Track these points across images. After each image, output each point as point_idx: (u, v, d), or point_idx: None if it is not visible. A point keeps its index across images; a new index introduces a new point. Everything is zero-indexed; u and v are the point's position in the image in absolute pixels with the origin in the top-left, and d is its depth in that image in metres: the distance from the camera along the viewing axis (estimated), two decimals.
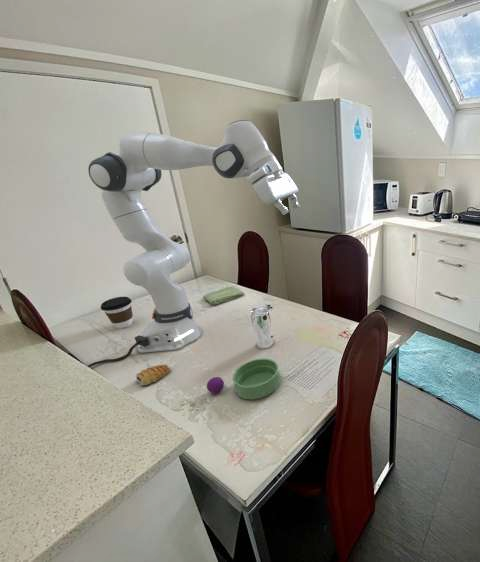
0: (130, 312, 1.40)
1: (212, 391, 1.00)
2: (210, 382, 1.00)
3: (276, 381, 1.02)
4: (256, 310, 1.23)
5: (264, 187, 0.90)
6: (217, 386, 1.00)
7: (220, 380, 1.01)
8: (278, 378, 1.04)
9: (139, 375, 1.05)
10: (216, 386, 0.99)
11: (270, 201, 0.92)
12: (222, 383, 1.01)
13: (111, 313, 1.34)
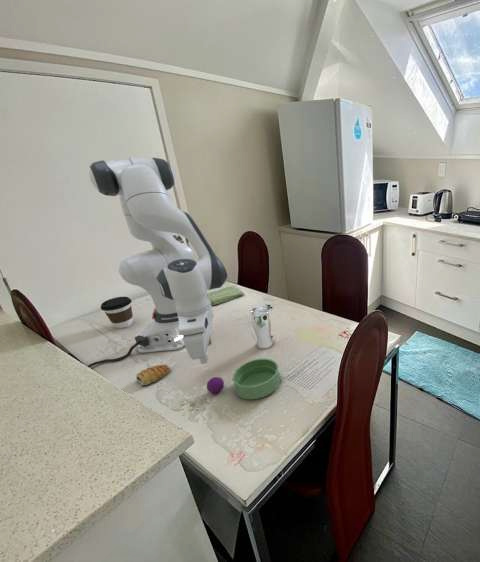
0: (130, 312, 1.40)
1: (212, 391, 1.00)
2: (210, 382, 1.00)
3: (276, 381, 1.02)
4: (256, 310, 1.23)
5: (198, 345, 0.85)
6: (217, 386, 1.00)
7: (220, 380, 1.01)
8: (278, 378, 1.04)
9: (139, 375, 1.05)
10: (216, 386, 0.99)
11: (199, 358, 0.86)
12: (222, 383, 1.01)
13: (111, 313, 1.34)
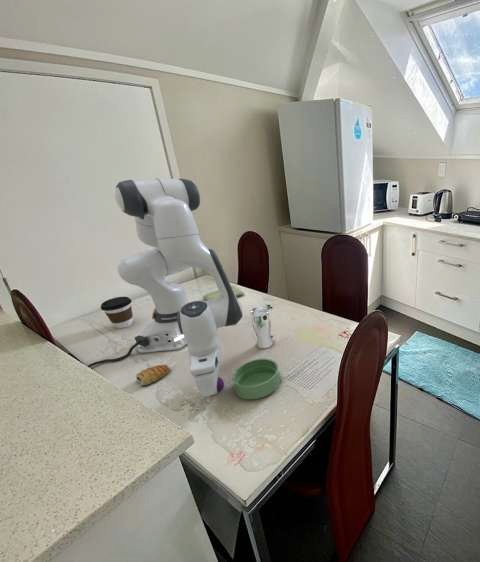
0: (130, 312, 1.40)
1: None
2: None
3: (276, 381, 1.02)
4: (256, 310, 1.23)
5: (209, 383, 0.90)
6: (217, 386, 1.00)
7: (220, 380, 1.01)
8: (278, 378, 1.04)
9: (139, 375, 1.05)
10: None
11: (209, 395, 0.92)
12: (222, 383, 1.01)
13: (111, 313, 1.34)
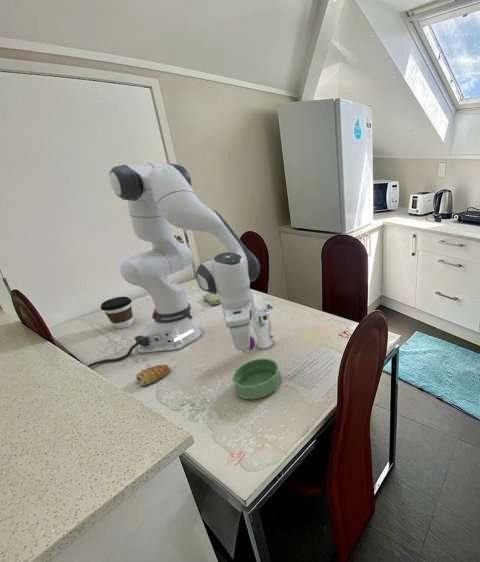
0: (130, 312, 1.40)
1: None
2: None
3: (276, 381, 1.02)
4: (256, 310, 1.23)
5: (244, 336, 0.86)
6: None
7: (251, 338, 0.98)
8: (278, 378, 1.04)
9: (139, 375, 1.05)
10: None
11: (244, 349, 0.88)
12: (253, 341, 0.98)
13: (111, 313, 1.34)
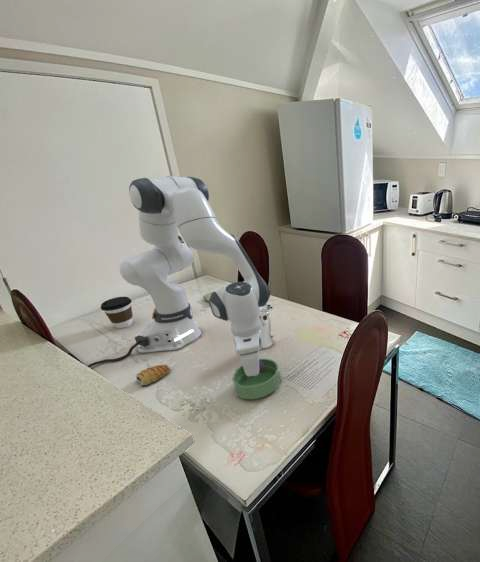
0: (130, 312, 1.40)
1: None
2: None
3: (276, 381, 1.02)
4: None
5: (254, 363, 0.90)
6: None
7: (260, 362, 1.02)
8: (278, 378, 1.04)
9: (139, 375, 1.05)
10: None
11: (253, 375, 0.92)
12: (262, 365, 1.02)
13: (111, 313, 1.34)
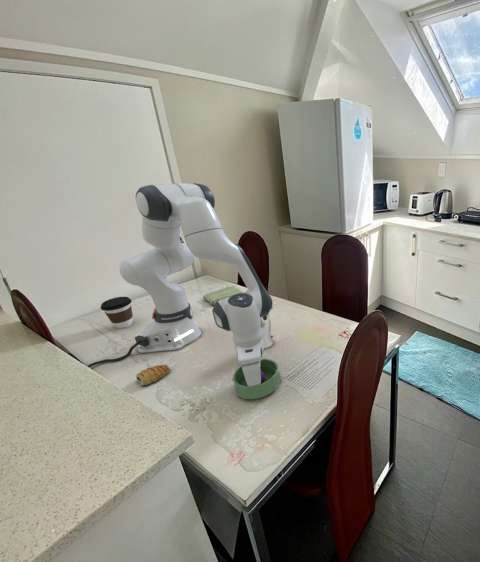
0: (130, 312, 1.40)
1: None
2: None
3: (276, 381, 1.02)
4: None
5: (255, 373, 0.92)
6: None
7: (262, 373, 1.03)
8: (278, 378, 1.04)
9: (139, 375, 1.05)
10: None
11: None
12: (264, 376, 1.03)
13: (111, 313, 1.34)
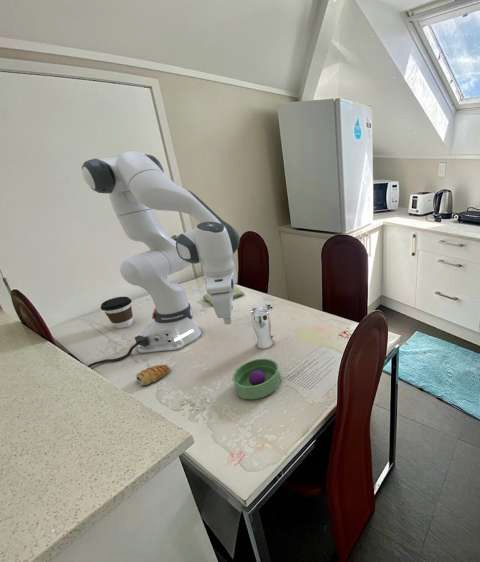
0: (130, 312, 1.40)
1: (255, 384, 1.02)
2: (252, 375, 1.02)
3: (276, 381, 1.02)
4: (256, 310, 1.23)
5: (225, 304, 0.88)
6: (259, 379, 1.02)
7: (262, 373, 1.03)
8: (278, 378, 1.04)
9: (139, 375, 1.05)
10: (258, 379, 1.01)
11: (224, 316, 0.90)
12: (264, 376, 1.03)
13: (111, 313, 1.34)
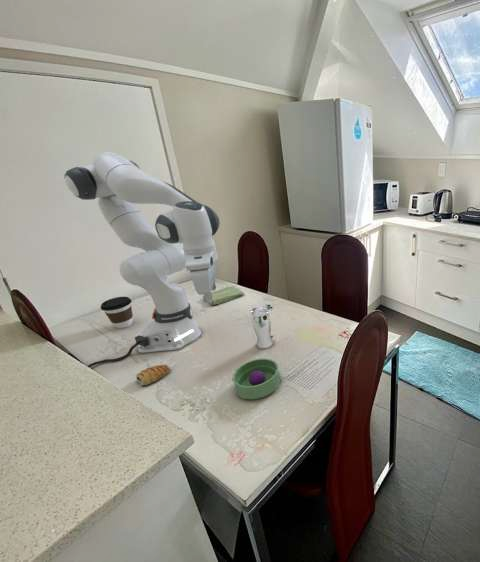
0: (130, 312, 1.40)
1: (255, 384, 1.02)
2: (252, 376, 1.01)
3: (276, 381, 1.02)
4: (256, 310, 1.23)
5: (204, 280, 0.90)
6: (259, 380, 1.02)
7: (262, 374, 1.03)
8: (278, 378, 1.04)
9: (139, 375, 1.05)
10: (258, 380, 1.01)
11: (205, 293, 0.92)
12: (263, 377, 1.03)
13: (111, 313, 1.34)
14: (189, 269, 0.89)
